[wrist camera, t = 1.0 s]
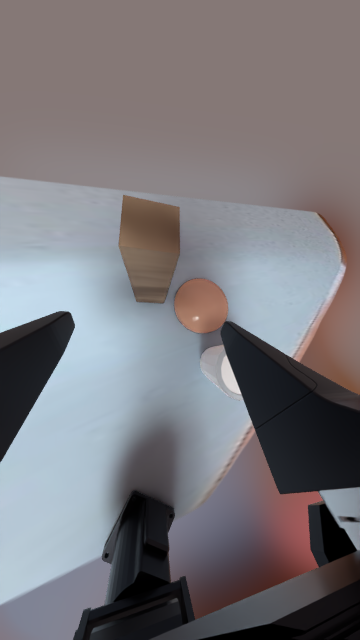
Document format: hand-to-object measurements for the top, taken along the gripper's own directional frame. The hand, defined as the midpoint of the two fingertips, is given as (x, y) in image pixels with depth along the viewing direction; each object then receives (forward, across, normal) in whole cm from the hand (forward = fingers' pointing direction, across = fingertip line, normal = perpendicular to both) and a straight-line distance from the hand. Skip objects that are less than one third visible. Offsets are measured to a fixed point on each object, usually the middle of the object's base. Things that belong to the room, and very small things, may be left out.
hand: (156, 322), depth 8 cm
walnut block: (+15, +1, +5) cm, 16 cm away
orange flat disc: (+14, -8, +6) cm, 17 cm away
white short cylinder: (+7, -11, +13) cm, 18 cm away
